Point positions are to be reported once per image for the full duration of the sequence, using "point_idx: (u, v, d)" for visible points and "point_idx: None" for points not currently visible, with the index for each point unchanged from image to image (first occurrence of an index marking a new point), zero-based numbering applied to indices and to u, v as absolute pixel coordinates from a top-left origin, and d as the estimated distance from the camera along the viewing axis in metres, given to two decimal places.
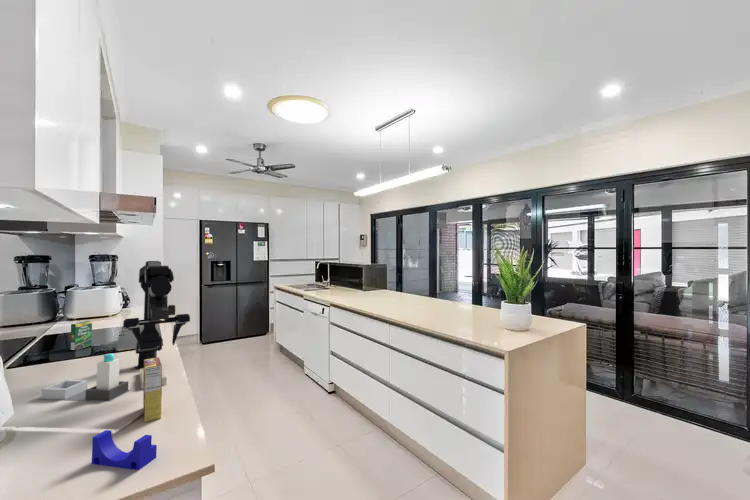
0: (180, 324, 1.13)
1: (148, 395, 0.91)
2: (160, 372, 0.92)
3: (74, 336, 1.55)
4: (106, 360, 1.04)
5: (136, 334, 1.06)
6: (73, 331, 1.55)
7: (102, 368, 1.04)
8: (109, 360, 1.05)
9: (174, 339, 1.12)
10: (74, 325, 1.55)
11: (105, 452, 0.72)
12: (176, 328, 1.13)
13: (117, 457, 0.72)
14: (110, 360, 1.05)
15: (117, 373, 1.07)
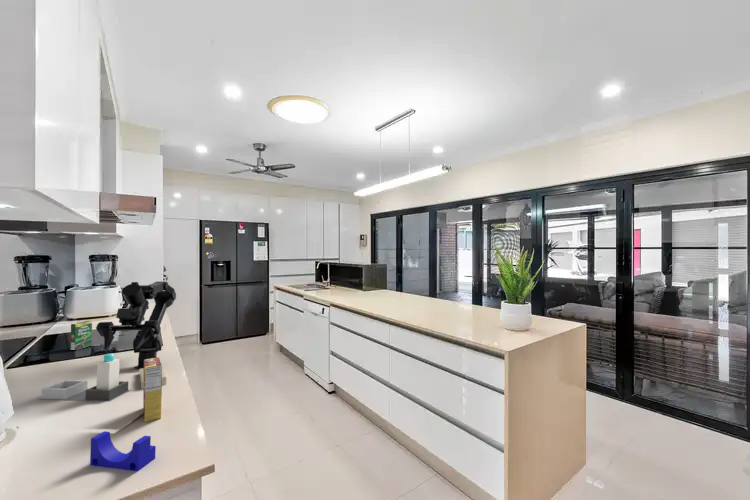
0: (145, 328, 1.18)
1: (148, 395, 0.91)
2: (160, 372, 0.92)
3: (74, 336, 1.55)
4: (106, 360, 1.04)
5: (105, 335, 1.14)
6: (73, 331, 1.55)
7: (102, 368, 1.04)
8: (109, 360, 1.05)
9: (137, 342, 1.15)
10: (74, 325, 1.55)
11: (103, 453, 0.71)
12: (142, 332, 1.17)
13: (115, 459, 0.72)
14: (110, 360, 1.05)
15: (117, 373, 1.07)
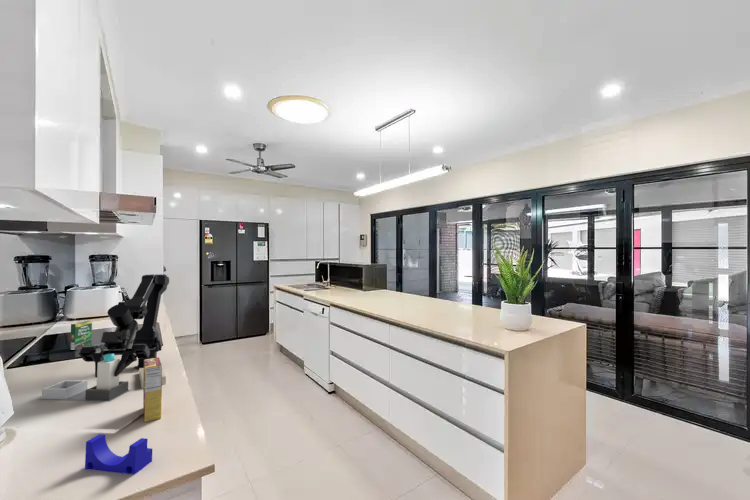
0: (126, 352, 1.08)
1: (148, 395, 0.91)
2: (160, 372, 0.92)
3: (74, 336, 1.55)
4: (106, 360, 1.04)
5: (96, 361, 1.06)
6: (73, 331, 1.55)
7: (102, 368, 1.04)
8: (109, 360, 1.05)
9: (117, 369, 1.06)
10: (74, 325, 1.55)
11: (99, 456, 0.70)
12: (122, 357, 1.08)
13: (111, 462, 0.70)
14: (110, 360, 1.05)
15: None
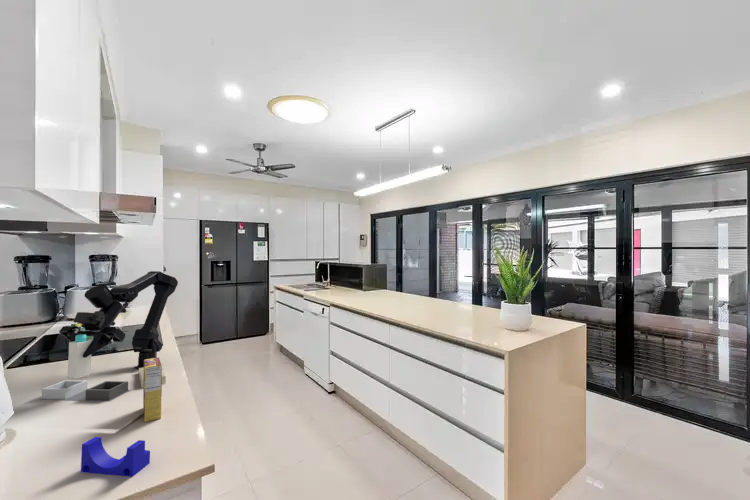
0: (97, 334, 1.07)
1: (148, 395, 0.91)
2: (160, 372, 0.92)
3: None
4: (76, 340, 1.04)
5: (71, 340, 1.06)
6: None
7: (72, 348, 1.03)
8: (79, 341, 1.04)
9: (86, 350, 1.04)
10: (74, 325, 1.55)
11: (95, 459, 0.69)
12: (93, 339, 1.06)
13: (108, 465, 0.69)
14: (80, 341, 1.04)
15: None
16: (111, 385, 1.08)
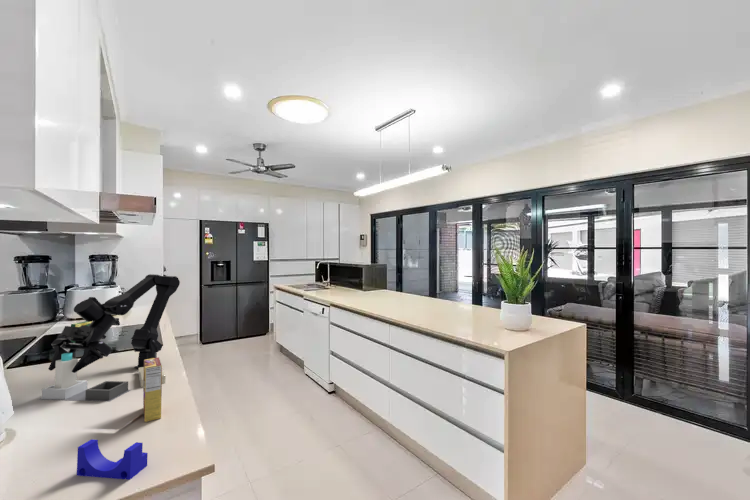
0: (87, 349, 1.06)
1: (148, 395, 0.91)
2: (160, 372, 0.92)
3: None
4: (62, 359, 1.05)
5: (55, 353, 1.08)
6: None
7: (58, 366, 1.04)
8: (65, 359, 1.05)
9: (75, 365, 1.04)
10: (74, 325, 1.55)
11: (91, 462, 0.68)
12: (84, 354, 1.06)
13: (105, 467, 0.68)
14: (66, 359, 1.05)
15: (74, 373, 1.06)
16: (111, 385, 1.08)
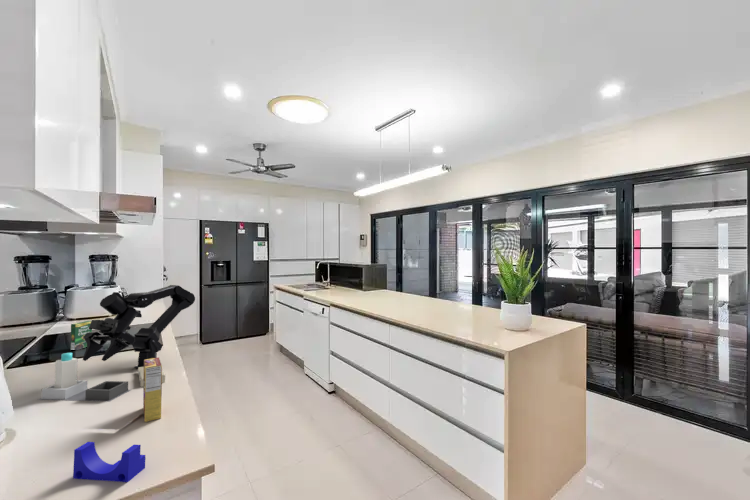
0: (113, 339, 1.15)
1: (148, 395, 0.91)
2: (160, 372, 0.92)
3: (74, 336, 1.55)
4: (62, 359, 1.05)
5: (87, 345, 1.18)
6: (73, 331, 1.55)
7: (58, 366, 1.04)
8: (65, 359, 1.05)
9: (104, 354, 1.14)
10: (74, 325, 1.55)
11: (88, 465, 0.67)
12: (111, 343, 1.15)
13: (102, 470, 0.68)
14: (66, 359, 1.05)
15: (74, 373, 1.06)
16: (111, 385, 1.08)
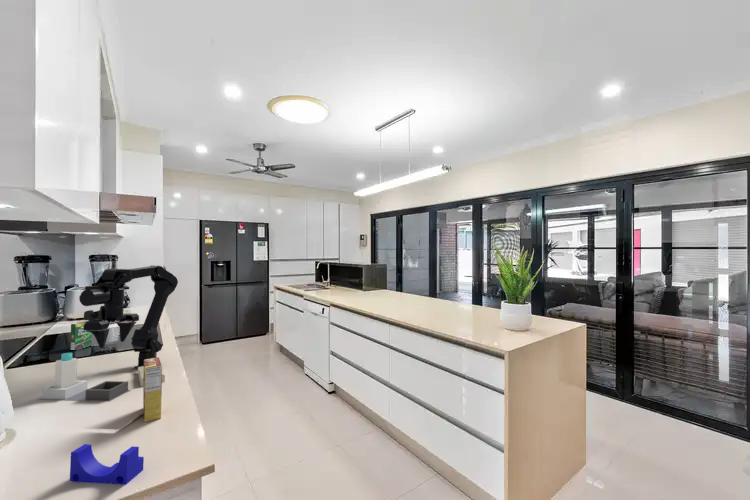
0: None
1: (148, 395, 0.91)
2: (160, 372, 0.92)
3: (74, 336, 1.55)
4: (62, 359, 1.05)
5: None
6: (73, 331, 1.55)
7: (58, 366, 1.04)
8: (65, 359, 1.05)
9: None
10: (74, 325, 1.55)
11: (85, 467, 0.67)
12: None
13: (99, 473, 0.67)
14: (66, 359, 1.05)
15: (74, 373, 1.06)
16: (111, 385, 1.08)
